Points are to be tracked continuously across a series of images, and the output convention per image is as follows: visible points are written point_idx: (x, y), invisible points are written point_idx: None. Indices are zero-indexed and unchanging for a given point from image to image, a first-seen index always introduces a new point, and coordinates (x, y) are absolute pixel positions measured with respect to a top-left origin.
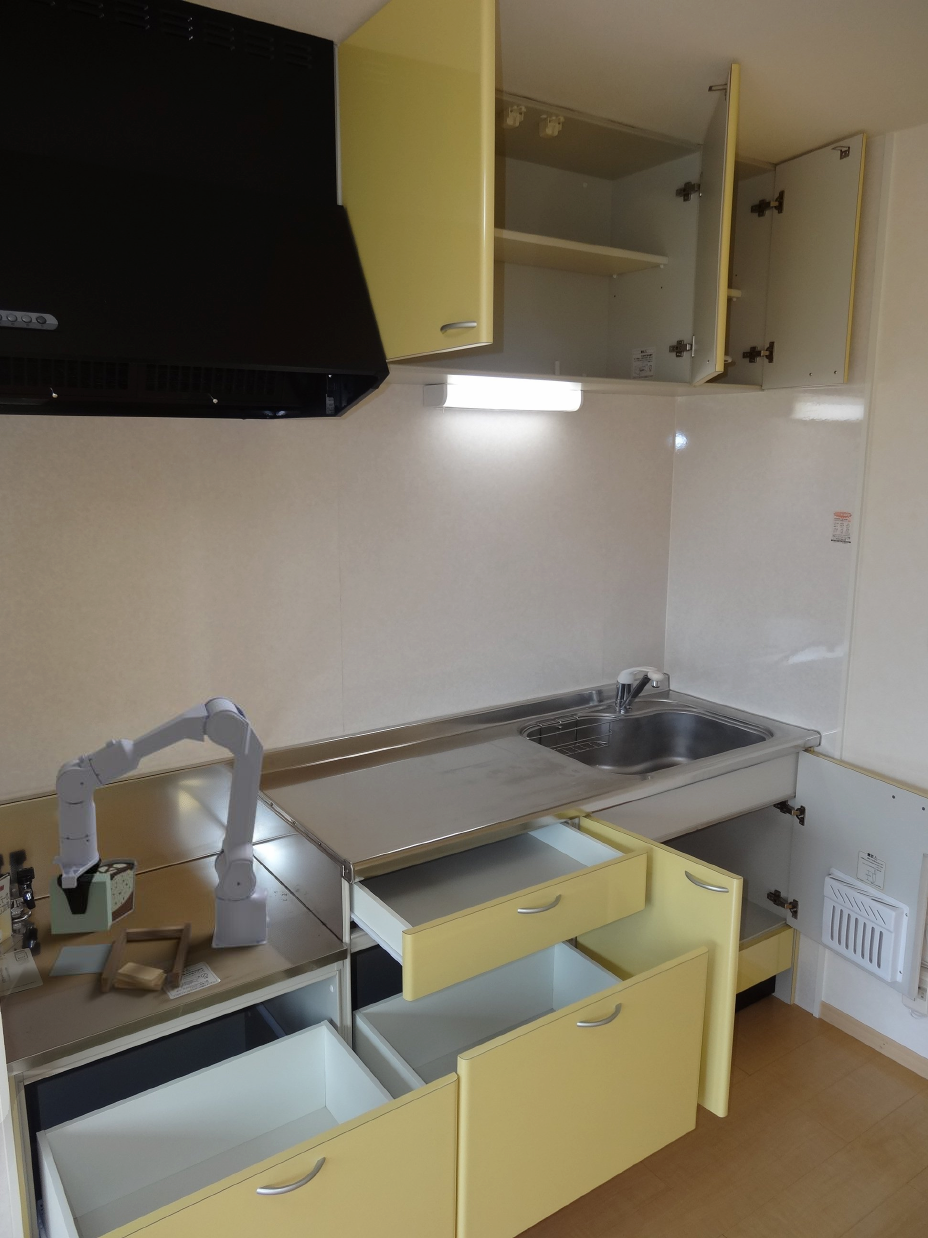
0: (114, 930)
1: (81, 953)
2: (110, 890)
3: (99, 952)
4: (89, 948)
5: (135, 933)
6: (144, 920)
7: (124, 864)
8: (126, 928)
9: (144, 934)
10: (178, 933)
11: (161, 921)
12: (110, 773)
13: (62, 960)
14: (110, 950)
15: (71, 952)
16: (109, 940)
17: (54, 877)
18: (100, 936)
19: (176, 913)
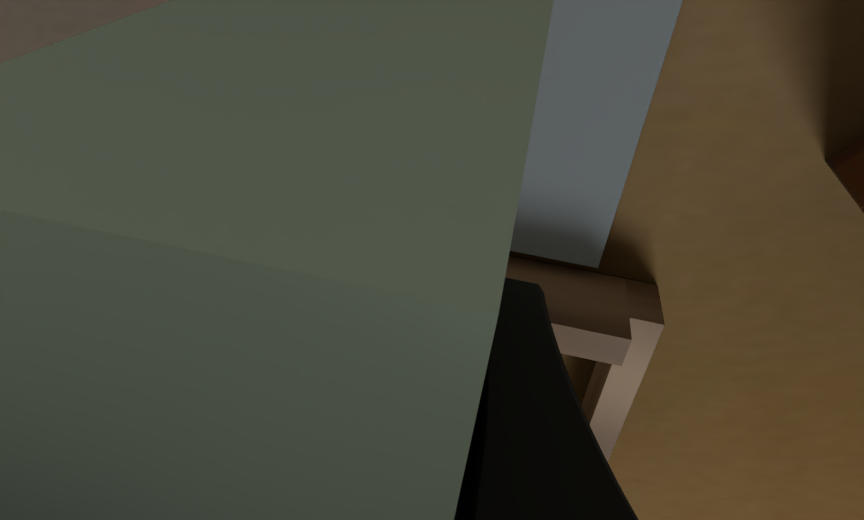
0: (809, 253)
1: (551, 81)
2: None
3: (524, 183)
4: (597, 127)
5: (606, 371)
6: (840, 391)
7: None
8: (620, 360)
9: (593, 398)
10: None
11: (775, 449)
12: None
13: None
14: (529, 235)
15: (588, 14)
16: (689, 224)
17: (343, 335)
18: (772, 178)
19: (824, 506)
